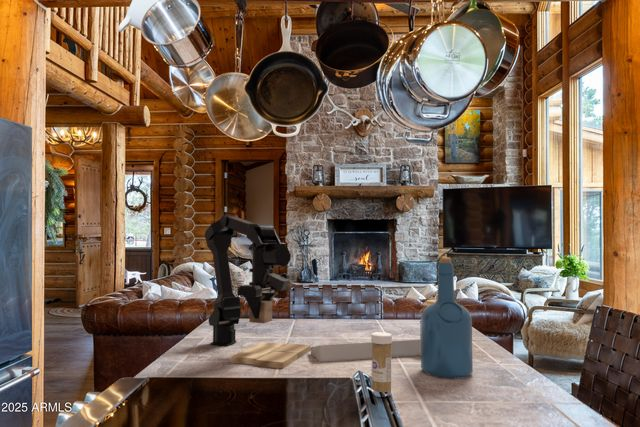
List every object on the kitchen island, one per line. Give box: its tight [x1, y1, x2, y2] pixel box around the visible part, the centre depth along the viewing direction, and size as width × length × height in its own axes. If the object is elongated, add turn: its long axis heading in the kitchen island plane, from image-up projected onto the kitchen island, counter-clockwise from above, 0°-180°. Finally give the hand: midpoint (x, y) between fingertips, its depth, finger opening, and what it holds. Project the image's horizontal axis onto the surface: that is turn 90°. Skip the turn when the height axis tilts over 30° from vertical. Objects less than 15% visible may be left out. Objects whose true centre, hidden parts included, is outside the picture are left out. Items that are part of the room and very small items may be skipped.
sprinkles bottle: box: [370, 331, 393, 395], centre depth 102 cm, size 5×5×14 cm
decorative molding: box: [310, 339, 421, 363], centre depth 139 cm, size 34×5×10 cm
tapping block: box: [248, 300, 273, 324], centre depth 138 cm, size 5×5×6 cm
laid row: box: [255, 342, 312, 369], centre depth 134 cm, size 8×22×2 cm, turn 162°
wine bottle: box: [420, 256, 474, 380], centre depth 120 cm, size 14×13×30 cm
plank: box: [230, 341, 286, 366], centre depth 136 cm, size 8×20×2 cm, turn 162°
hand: (260, 317), depth 138 cm, fingers closed on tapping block, 5 cm apart
